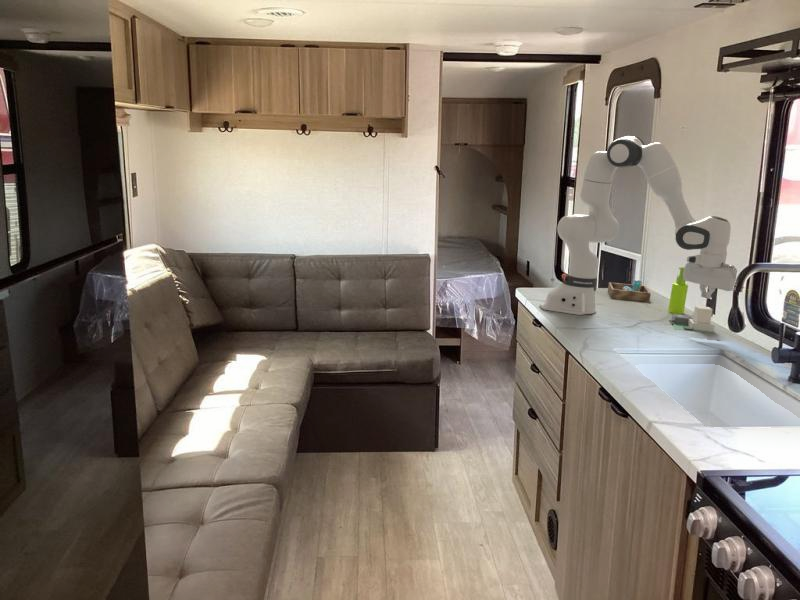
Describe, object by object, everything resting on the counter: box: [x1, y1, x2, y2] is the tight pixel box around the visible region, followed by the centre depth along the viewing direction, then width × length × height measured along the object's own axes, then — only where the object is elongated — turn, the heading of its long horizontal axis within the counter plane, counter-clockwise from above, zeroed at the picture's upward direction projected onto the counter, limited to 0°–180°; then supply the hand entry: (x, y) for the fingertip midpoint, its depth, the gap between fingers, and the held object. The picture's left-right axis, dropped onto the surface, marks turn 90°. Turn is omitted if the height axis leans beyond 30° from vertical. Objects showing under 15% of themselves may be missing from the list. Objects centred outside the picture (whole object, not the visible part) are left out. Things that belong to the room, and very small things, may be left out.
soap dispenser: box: [667, 266, 689, 315], centre depth 264 cm, size 6×7×20 cm
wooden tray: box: [607, 282, 651, 303], centre depth 297 cm, size 17×17×4 cm
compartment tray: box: [671, 318, 716, 335], centre depth 244 cm, size 14×15×4 cm
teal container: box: [622, 278, 643, 292], centre depth 298 cm, size 12×12×8 cm
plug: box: [692, 305, 714, 324], centre depth 241 cm, size 6×4×8 cm
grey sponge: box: [668, 313, 691, 326], centre depth 248 cm, size 7×8×3 cm
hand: (705, 297), depth 239 cm, fingers closed
